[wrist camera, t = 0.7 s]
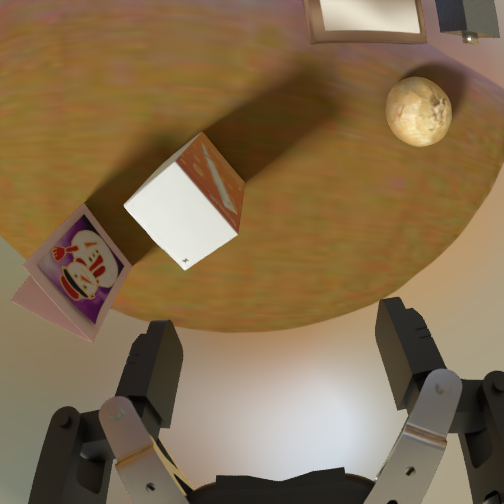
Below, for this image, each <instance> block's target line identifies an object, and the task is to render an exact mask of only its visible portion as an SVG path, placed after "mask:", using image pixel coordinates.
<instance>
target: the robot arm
mask: <svg viewBox="0 0 504 504" xmlns="http://www.w3.org/2000/svg"><path fill="white" fill-rule="evenodd" d="M375 336H376V342H377V345H378V348H379V351H380V354H381V357H382V361H383V364H384V367H385V370H386V373H387V376H388V380H389V383H390V386H391V390H392V393H393V396H394V400H395V404H396V407H397V410H402V409H407V413H408V417H407V419H406V422H405V424H404V426H403V428H402V430H401V432H400V434H399V436H398V438H397V440H396V442H395V444H394V446H393V448H392V450H391V451H390V453H389V455H388V457H387V459H386V461H385V462H384V464H383V466H382V467H381V469H380V471H379V473H378V474H377V476H376V478H375V479H374V481H372V480H370V479H368V478H365V477H362V476H359V475H354V474H348V473H345V469H344V467H341V468H334V469H328V470H319V471H312V472H309V473H306V474H303V475H300V476H298V477H294V478H291V479H288V480H284V481H273V480H267V479H262V478H257V477H252V476H224V475H217V476H216V482H213V483H210V484H207V485H204V486H202V487H199V488H198V489H195V488H194V487H193V485H192V484H191V483H190V482H189V480H188V479H187V478H186V477H185V476H184V474H183V473H182V472H181V470H180V469H179V467H178V466H177V464H176V463H175V461H174V460H173V458H172V456H171V455H170V453H169V452H168V450H167V449H166V447H165V445H164V444H163V442H162V440H161V439H160V437H159V431H160V428H170V424H171V418H172V413H173V408H174V403H175V397H176V392H177V387H178V382H179V377H180V372H181V367H182V362H183V349H182V345H181V342H180V340H179V338H178V335H177V333H176V330H175V328H174V326H173V323H172V321H171V320H154V321H151V322H150V324H149V327H148V330H147V333H146V334H140V335H139V336H138V338H137V339H136V340H135V342H134V343H133V344H132V347H131V350H130V353H129V356H128V358H127V361H126V365H125V367H124V370H123V373H122V376H121V379H120V382H119V385H118V388H117V391H116V394H115V397H113V398H110V399H108V400H107V401H105V403H104V404H103V405H102V406H101V408H100V409H99V410H95V411H91V412H86V413H79V412H78V411H77V410H76V409H75V408H73V407H70V406H66V407H62V408H60V409H59V410H57V411H56V412H55V413H54V415H53V416H52V418H51V421H50V424H49V427H48V431H47V434H46V437H45V440H44V444H43V447H42V451H41V454H40V458H39V461H38V465H37V469H36V473H35V476H34V480H33V485H32V489H31V493H30V498H29V503H28V504H106V499H107V492H108V486H109V480H110V474H111V468H112V463H113V459H117V464H115V468H116V470H117V473H118V475H119V477H120V479H121V481H122V483H123V485H124V487H125V489H126V491H127V493H128V494H129V496H130V498H131V500H132V502H133V504H421V502H422V500H423V498H424V496H425V494H426V492H427V490H428V488H429V486H430V484H431V481H432V479H433V477H434V475H435V473H436V471H437V468H438V466H439V464H440V461H441V459H442V456H443V454H444V451H445V448H446V446H447V441H446V437H447V434H448V433H458V436H459V440H460V444H461V448H462V452H463V456H464V460H465V465H466V469H467V474H468V479H469V484H470V489H471V494H472V500H473V504H504V372H502V371H492V372H490V373H488V374H487V375H486V376H485V378H484V380H465V379H460V378H459V376H458V375H457V374H456V373H455V372H453V371H451V370H448V369H447V368H446V366H445V364H444V361H443V359H442V357H441V355H440V353H439V351H438V348H437V346H436V344H435V342H434V340H433V338H432V337H431V333H430V331H429V329H427V325H426V323H425V321H424V319H423V317H422V316H421V315H420V314H419V313H418V312H417V311H415V310H414V309H413V308H410V309H406V308H405V306H404V304H403V302H402V300H401V299H400V297H393V298H387V299H381V300H380V301H379V306H378V313H377V320H376V326H375Z"/></svg>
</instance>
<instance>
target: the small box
mask: <svg viewBox="0 0 504 504" xmlns="http://www.w3.org/2000/svg"><path fill="white" fill-rule="evenodd" d="M244 188H245V182H244V181H243V180H242V178H241V177H240V176H239V175H238V174H237V173H236V172H235V170H234V169H233V168H232V167H231V166H230V164H229V163H228V162H227V161H226V160H225V158H224V157H223V156H222V155H221V154H220V152H219V151H218V150H217V149H216V147H215V146H214V145H213V144H212V142H211V141H210V140H209V139H208V137H207V136H206V135H205V134H204V132H201V133H199V134H198V135H197V136H195V137H194V138H193V139H192V140H190V141H189V142H188V143H187V144H185V145H184V146H183V147H182V148H181V149H179V150H178V151H177V152H176V153H174V154H173V155H172V156H171V157H170V158H169V159H167V160H166V161H165V162H164V163H163V164H162V165H161V166H160V167H159V168H158V169H157V170H156V171H155V172H154V173H153V174H152V175H151V176H150V177H149V178H148V179H147V180H146V181H145V182H144V183H143V184H142V186H141V187H140V188H139V189H138V190H137V191H136V192H135V193H134V194H133V195H132V196H131V197H130V199H129V200H128V201H127V202H126V203H125V204H124V207H125V209H126V210H127V211H128V212H129V213H130V214H131V215H132V217H133V218H134V219H135V220H136V221H137V222H138V223H139V224H140V225H141V226H142V227H143V229H144V230H145V231H146V232H147V233H148V234H149V235H150V237H151V238H152V239H153V240H154V241H155V242H156V243H157V244H158V245H159V246H160V247H161V248H162V249H164V250H165V251H166V252H167V253H168V254H169V255H170V256H171V257H172V258H173V259H174V260H175V261H176V262H177V263H178V264H179V265H180V266H181V267H182V268H183V269H184V270H187V269H188V268H190V267H191V266H192V265H194V264H195V263H197V262H198V261H200V260H201V259H202V258H204V257H205V256H207V255H208V254H210V253H211V252H213V251H214V250H216V249H217V248H219V247H220V246H222V245H223V244H225V243H226V242H228V241H229V240H231V239H232V238H234V237H235V236H237V235H238V232H239V225H240V217H241V210H242V203H243V196H244Z"/></svg>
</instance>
